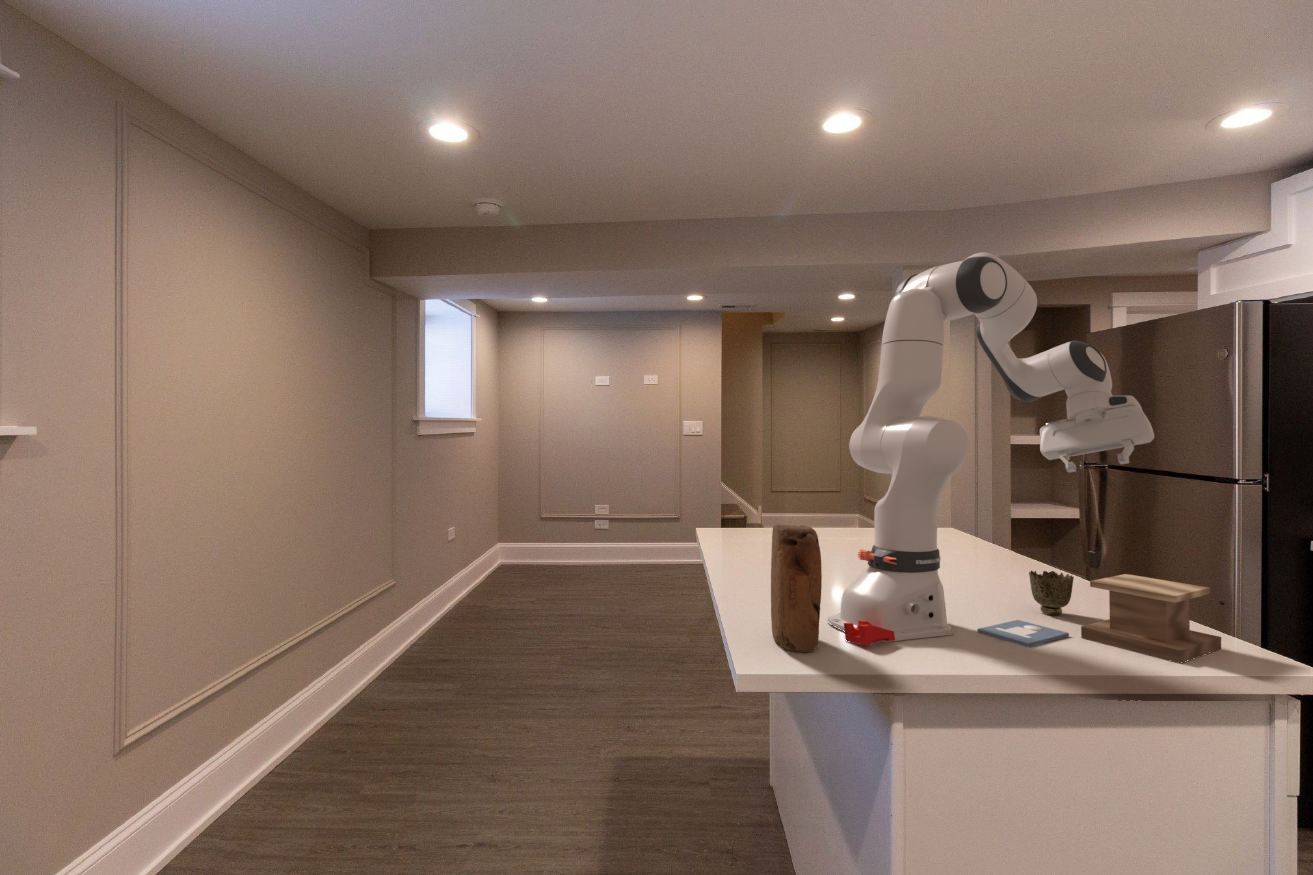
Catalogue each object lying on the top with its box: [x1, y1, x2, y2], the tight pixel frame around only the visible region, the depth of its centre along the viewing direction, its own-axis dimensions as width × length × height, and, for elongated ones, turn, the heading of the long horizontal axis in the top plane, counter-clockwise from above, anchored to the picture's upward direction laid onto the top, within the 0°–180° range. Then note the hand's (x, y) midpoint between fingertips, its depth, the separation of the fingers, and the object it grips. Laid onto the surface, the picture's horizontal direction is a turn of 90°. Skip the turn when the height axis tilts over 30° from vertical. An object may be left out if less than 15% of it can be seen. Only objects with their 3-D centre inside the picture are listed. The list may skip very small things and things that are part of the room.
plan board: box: [977, 619, 1070, 648], centre depth 106 cm, size 12×9×1 cm
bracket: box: [844, 620, 895, 646], centre depth 102 cm, size 6×5×3 cm
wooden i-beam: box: [1080, 573, 1222, 664], centre depth 101 cm, size 14×14×10 cm
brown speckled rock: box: [770, 524, 823, 653], centre depth 102 cm, size 11×8×20 cm
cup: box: [1028, 570, 1075, 617], centre depth 119 cm, size 8×7×8 cm
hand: (1096, 466), depth 126 cm, fingers open, 8 cm apart
